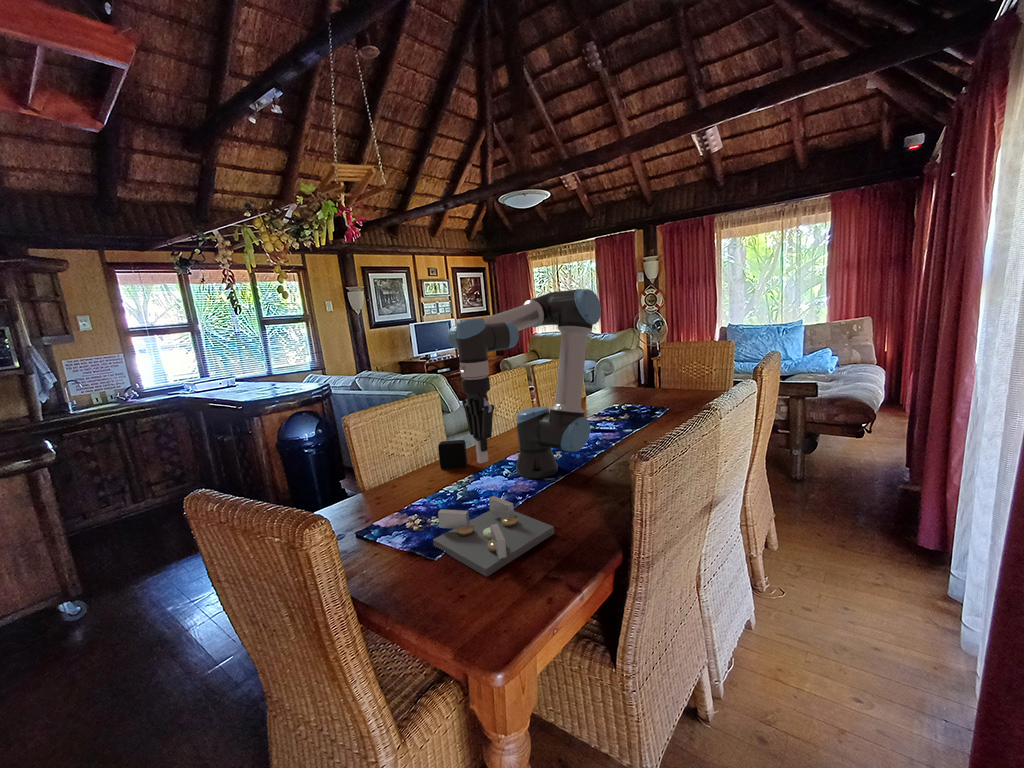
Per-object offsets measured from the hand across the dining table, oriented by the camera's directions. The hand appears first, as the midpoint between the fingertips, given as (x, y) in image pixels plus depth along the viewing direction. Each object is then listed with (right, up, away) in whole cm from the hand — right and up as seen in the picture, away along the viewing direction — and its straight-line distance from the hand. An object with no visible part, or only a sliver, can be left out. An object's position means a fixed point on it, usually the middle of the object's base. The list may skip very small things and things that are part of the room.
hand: (482, 461), depth 122 cm
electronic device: (-14, -11, +51) cm, 54 cm away
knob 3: (+5, -19, -15) cm, 25 cm away
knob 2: (+6, -16, 0) cm, 17 cm away
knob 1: (-7, -18, -4) cm, 20 cm away
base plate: (+3, -20, -5) cm, 21 cm away
